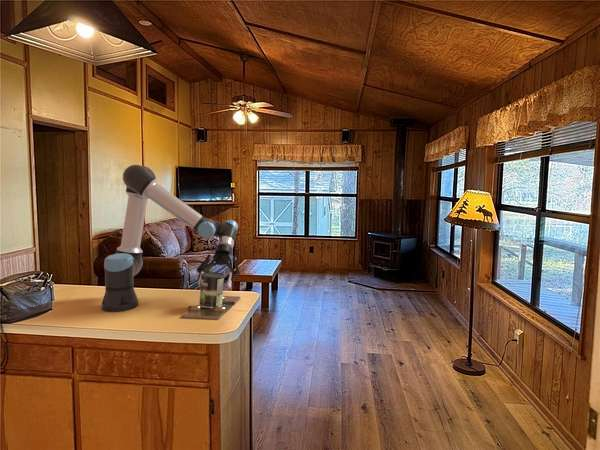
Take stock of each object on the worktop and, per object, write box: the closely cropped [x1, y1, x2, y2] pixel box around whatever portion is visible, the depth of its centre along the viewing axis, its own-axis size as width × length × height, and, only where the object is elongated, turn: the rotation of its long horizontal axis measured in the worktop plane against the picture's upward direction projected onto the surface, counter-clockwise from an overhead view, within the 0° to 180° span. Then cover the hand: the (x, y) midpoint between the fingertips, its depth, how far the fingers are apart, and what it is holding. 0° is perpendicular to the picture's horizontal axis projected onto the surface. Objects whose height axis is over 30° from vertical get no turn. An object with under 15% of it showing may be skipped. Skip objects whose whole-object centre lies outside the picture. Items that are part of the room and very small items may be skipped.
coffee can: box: [198, 271, 225, 308], centre depth 179 cm, size 10×10×14 cm
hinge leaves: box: [181, 295, 241, 320], centre depth 178 cm, size 16×31×3 cm, turn 172°
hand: (214, 286), depth 178 cm, fingers open, 13 cm apart
